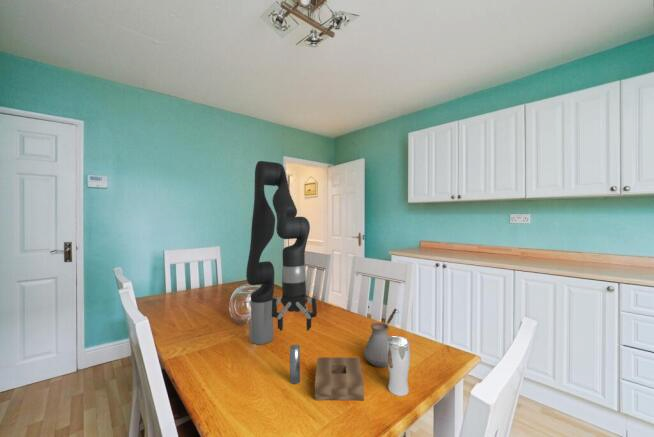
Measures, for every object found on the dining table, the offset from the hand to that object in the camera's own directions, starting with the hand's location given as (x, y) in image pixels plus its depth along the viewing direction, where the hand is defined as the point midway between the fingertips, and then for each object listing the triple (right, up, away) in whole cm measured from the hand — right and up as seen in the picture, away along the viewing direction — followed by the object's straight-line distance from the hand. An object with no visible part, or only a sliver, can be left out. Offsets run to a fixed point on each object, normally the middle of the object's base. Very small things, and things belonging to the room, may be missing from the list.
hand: (294, 329), depth 88 cm
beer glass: (+32, -17, -4) cm, 36 cm away
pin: (0, -17, 0) cm, 17 cm away
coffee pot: (+32, -16, +16) cm, 40 cm away
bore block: (+14, -17, -2) cm, 22 cm away
